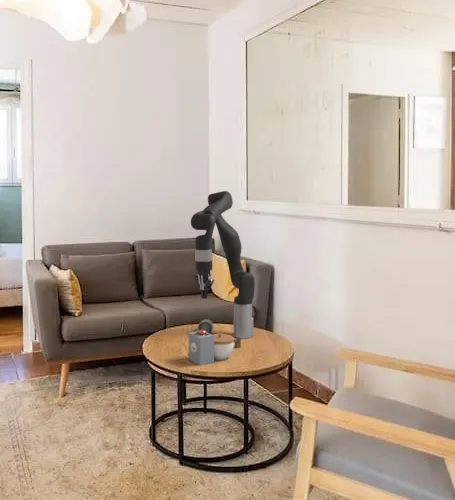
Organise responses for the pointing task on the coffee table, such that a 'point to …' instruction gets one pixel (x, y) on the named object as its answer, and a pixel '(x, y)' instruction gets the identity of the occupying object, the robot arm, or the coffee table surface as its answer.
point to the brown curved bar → (237, 342)
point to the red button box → (201, 348)
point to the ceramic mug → (205, 326)
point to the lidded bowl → (223, 346)
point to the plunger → (201, 332)
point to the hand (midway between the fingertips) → (204, 298)
